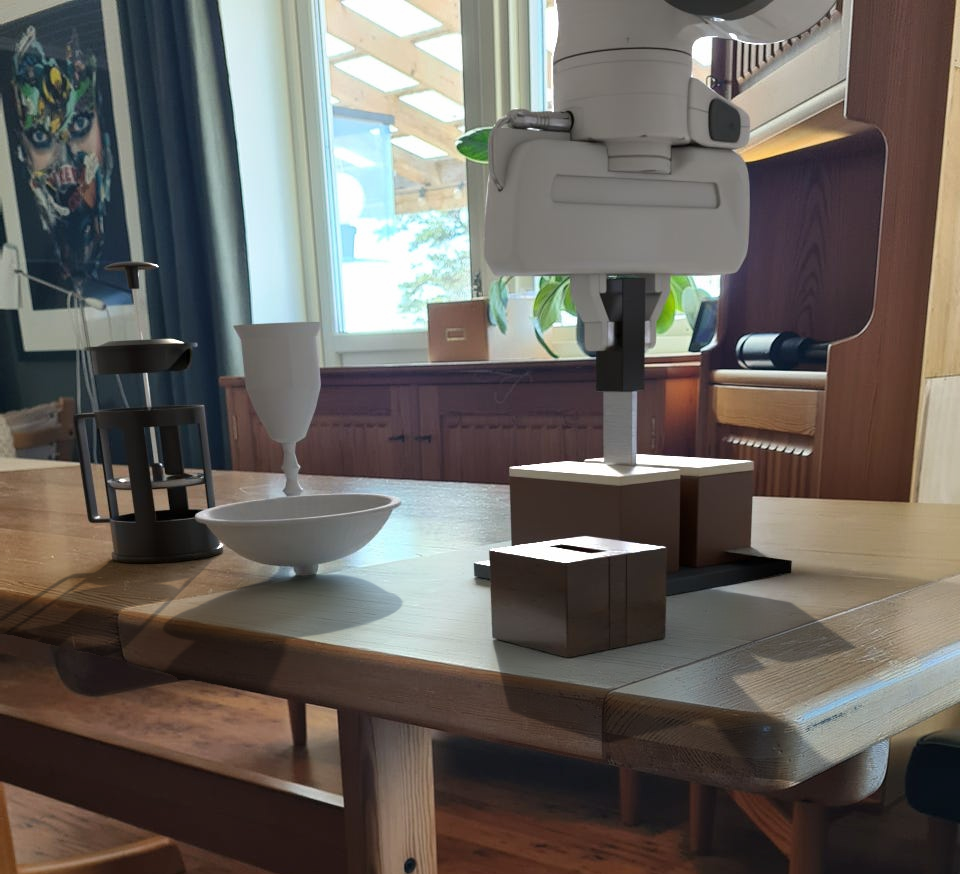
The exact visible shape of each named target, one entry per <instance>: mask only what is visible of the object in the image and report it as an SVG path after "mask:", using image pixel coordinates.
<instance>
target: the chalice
mask: <svg viewBox="0 0 960 874" xmlns="http://www.w3.org/2000/svg"><path fill="white" fill-rule="evenodd" d="M322 324H323V321H295V322H294V321H293V322H292V321H291V322H290V321H289V322H269V323H267V322H266V323H265V322H264V323H249V324H247V323H246V324H235V325H233V326H232V327H233V329H234V331H235V332H236V334H237V336H238V337H239V339H240V345H241V353H242V354H241V355H242V365H243V374H244V384H245V390H246V392H247V395H248V398H249V400H250V402H251V404H252V406H253V409H254V412H255V414H256V415H257V417H258V419H259V420H260V422H261V424H262V426H263V428H264V429H265V431H266V433H267V434H268V436H269V438H270V439H271V440H273V441H275V442H277V443H280V444H281V447H282V451H283V463H282V465H281V467H280V469H281V470H282V471H283V473H284V477H285V479H286V481H285V487H283V489H282V493H284V495H285V497H289V496H301V495H302V493H303V491H304V489H303V488H302V487H301V485H300V483H299V480H298V477H299V471H300V470H301V465H300V464H299V463H298V459H297V456H296V444H297V443H298V442H299V441H301V440H303V439H304V438H306V437H307V434H308V431H309V427H310V425H311V422H312V420H313V417H314V414H315V411H316V408H317V404H318V399H319V397H320V391H321V386H322V383H321V382H322V380H321V369H320V358H319V356H320V355H319V345H318V344H319V343H318V336H319V332H320V329H321V327H322Z"/></svg>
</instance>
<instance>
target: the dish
mask: <svg viewBox="0 0 960 874" xmlns="http://www.w3.org/2000/svg"><path fill="white" fill-rule="evenodd" d="M401 505H402V500H401V498H400V497H397V496H394V495H389V494H380V493H360V492H359V493H356V492H355V493H350V492H349V493H321V494H320V493H319V494H318V493H317V494H300V496H289V497H287V496H279V497H269V498H268V497H267V498H261V499H253V500H246V501H239V502H233V503H227V504H222V505H216V507H213V508H209V509H208V508H205V509H206V510H203V511H201V512H199V513H197V514H196V515H195V519H196V521H198V522H200V523H203V524H206V525H207V527H208V528H209V529H210V530H211V532H212V533H213V534H214V535H215V536H216V537H217V538H218V539H219V541H220V543H221V544H223V545H224V546H226V547H227V548H228V549H229V550H231V551H232V552H234V553H236V554H237V555H239V556H240V557H243V558H244V559H246V560H250V561H252V562H255V563H259V564H262V565H266V566H267V565H268V566H274V567H275V566H276V567H292V569H293V571H294V574H295V575H297V576H309V575H315V574H317V573H318V571H319V565H322V564H326V563H331V562H335V561H337V560H341V559H342V558H343V559H344V558H346V557H349V556H351V555H353V554H355V553H357V552H359V551H360V550H362V549H363V548H364V547H365V546H367V545H368V544H369V543H370V542H371V541H372V540H373V539H374V538H375V537H376V536H377V535H378V534H379V532H380V531H381V530H382V529H383V527H384V526H385V524H386V523H387V521H388V520H389V518H390V517H391V515H392V512H393V510H395V509H397V508H399V507H401Z"/></svg>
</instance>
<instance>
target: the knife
mask: <svg viewBox="0 0 960 874" xmlns="http://www.w3.org/2000/svg"><path fill="white" fill-rule="evenodd" d="M599 294H600V297H601V300H602V303H603V305H604V308H605V311H606V314H607V316H608V319H609V321H607V322H618V333H617V338H618V345H617V347H616V349H615V350H607V351H595V392H597V393H599V392H602V393H603V396H602V399H603V400H602V401H603V402H602V403H603V405H602V406H603V412H602V413H603V415H602V416H603V417H602V418H603V426H602V427H603V432H602V433H603V458H604V464H607V465H622V466H636V467H637V454H638V453H637V451H638V448H637V447H638V445H637V444H638V443H637V441H638V392H639V391H640V392H641V391H645V375H646V374H645V373H646V372H645V367H646V366H645V365H646V363H645V361H646V360H645V359H646V354H645V353H646V349H645V278H634V277H618V278H617V277H616V278H608V279H607V278H606V292H605V293H599Z"/></svg>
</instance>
